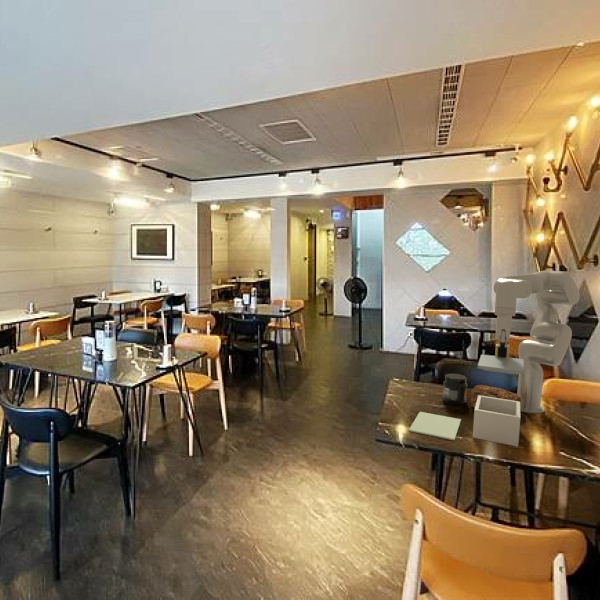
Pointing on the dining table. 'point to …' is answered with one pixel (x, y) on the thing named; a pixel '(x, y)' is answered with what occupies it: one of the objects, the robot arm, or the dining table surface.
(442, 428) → the mat
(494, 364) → the lid
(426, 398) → the dining table surface
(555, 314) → the robot arm
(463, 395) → the supplement container
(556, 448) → the dining table surface
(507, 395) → the bread
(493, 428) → the open box
